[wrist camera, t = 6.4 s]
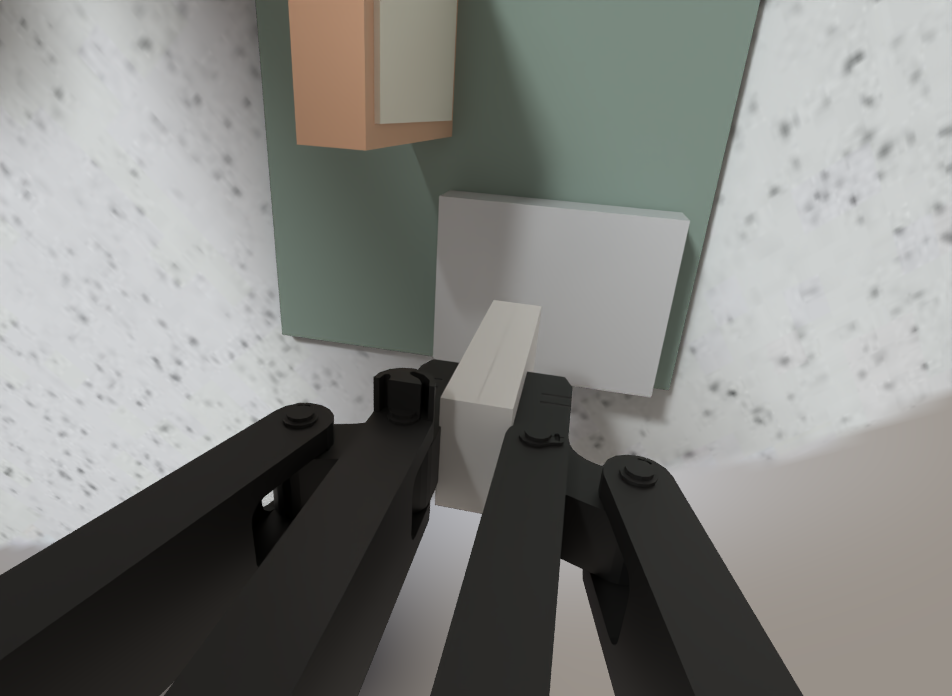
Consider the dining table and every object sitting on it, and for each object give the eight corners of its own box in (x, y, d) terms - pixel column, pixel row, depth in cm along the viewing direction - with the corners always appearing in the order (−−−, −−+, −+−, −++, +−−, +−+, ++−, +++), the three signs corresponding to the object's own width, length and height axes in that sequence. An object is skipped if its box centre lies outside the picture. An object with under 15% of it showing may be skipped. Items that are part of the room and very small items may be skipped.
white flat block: (432, 365, 23) (651, 397, 22) (439, 196, 21) (690, 220, 19) (443, 347, 25) (646, 376, 24) (451, 189, 22) (682, 212, 21)
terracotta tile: (407, 132, 22) (296, 144, 14) (410, -85, 19) (273, -234, 11) (455, 137, 22) (371, 150, 13) (466, -84, 19) (368, -237, 11)
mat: (288, 330, 27) (282, 334, 27) (256, -100, 20) (246, -106, 20) (667, 384, 24) (668, 390, 24) (777, -92, 18) (783, -98, 17)
